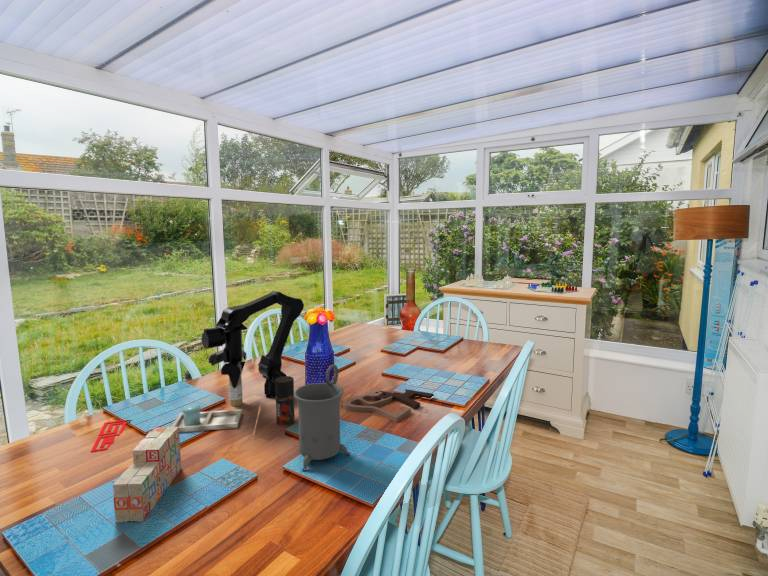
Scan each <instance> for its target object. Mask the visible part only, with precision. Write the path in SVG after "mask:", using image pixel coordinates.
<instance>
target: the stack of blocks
mask: <svg viewBox="0 0 768 576" xmlns="http://www.w3.org/2000/svg"><path fill="white" fill-rule="evenodd" d="M181 470H182V458H181V441H180V432H179V427H171V426H166V427H164V426H163V427H162V426H160V427H157V426H156V427H154V428H153V429H152V430H150V432H148V433H147V434H146V435H145V436H144V438H143V439H141V441H140V442H139V443H138V444H137V445H136V447H134V448H133V449H132V463H131V464H130V465H129V466H128V468H127V469H126V470H125V471H124V472H123V473H122V474H120V476H119V478H117V480H116V481H115V482H114V483H113V484H112V489H113V507H114V508H113V509H114V516H115V517H114V519H115V523H128V522H127V521H131V523H132V521H138V522H144V521H145V520H146V519H147V518H148V516H149V514H150V513H151V512H152V511H153V509H154V508H155V507H156V505H157V504H158V502H159V501H160V500H161V498H162V497H161V496H163V495H164V494H165V492H166V491H165V490H167V489H168V488H169V486H170V485H171V484H172V482H173V481H174V480H175V479H176V477H177V476H178V474H179V473H180V471H181ZM167 487H168V488H167ZM162 494H163V495H162ZM159 499H160V500H159ZM158 500H159V501H158ZM156 503H157V504H156ZM151 510H152V511H151ZM145 518H146V519H145ZM123 521H125V522H123Z"/></svg>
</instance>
